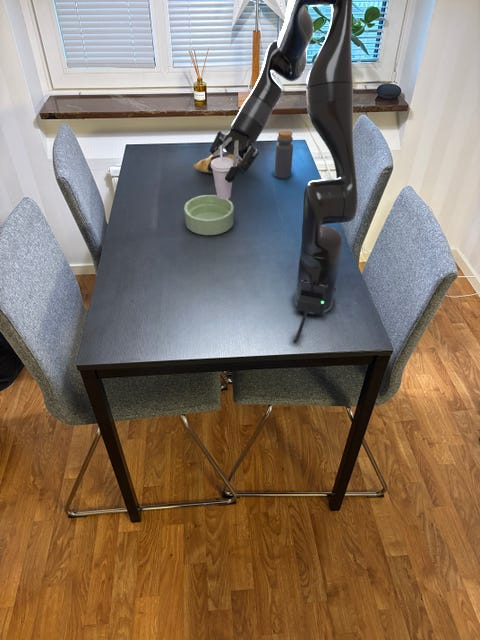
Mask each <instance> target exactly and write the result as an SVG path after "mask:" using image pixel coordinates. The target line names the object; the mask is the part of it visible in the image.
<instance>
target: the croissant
mask: <svg viewBox="0 0 480 640" xmlns="http://www.w3.org/2000/svg"><path fill="white" fill-rule="evenodd" d="M219 155H220V154H219ZM225 157H227V158H231V159H233V160H234V158H233V155H231V154H229V155H228V156H225ZM212 158H213V155H212V154H211V155H209V157H207V158H204V159H201V160H199V162H197V163H194V164H193V169H194V170H196V171H198V172H202V173H207V174H212V173H211V172H209V171H208V170H207V167H208V165H209V163H210V161H211V159H212ZM246 163H247V162H246Z"/></svg>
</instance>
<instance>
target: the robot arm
mask: <svg viewBox="0 0 480 640" xmlns="http://www.w3.org/2000/svg"><path fill="white" fill-rule="evenodd" d="M353 3H354V1H353V0H287V3H286V10H285V11H286V12H285V18H284V23H283V26H282V29H281V31H280V33H279V37H278V39H277V40H274V41H272V42H271V43H270V44H269V46H268V48H267V50H266V53H265V57H264V61H263V64H262V68H261V71H260V75H259V77H258V79H257V81H256V82H255V85H254V87H253V89H252V90H251V92H250V94H249V95H248V97H247V98H246V99H245V101H244V102H243V104H242V105H241V107H240V109H239V111H238V113H237V115H236V116H235V118H234V120H233V121H232V123H231V124H230V131H229V132H228V133H226V134H225V133H223V132H222V131H221V130H219V131H218V132H217V134H216V136H215V138H214V140H213V142H212V144H211V146H210V148H209V152H210V153H211V155H213V158H212V159H211V161H212V160H214V159H216V158H219V157H220V155H219V154H220V145H222V157H225V156H228V155H229V154H231V155H233V158H234V162H233V167H231V168H230V170H229V172H228V173H227V175H226V177H225V180H226V181H227V182H229V183H231V182H232V183H233V181H235V179H236V177H237V175H238V173H239V172H241V171H244V172H247V171H248V170H249V168H250V167H251V166H252V165H253V163H254V161H255V160H256V159H257V157H258V156H259V154H260V152H259V151H258V149H256V147H254V146H253V144H255V143H256V142H257V141H258V139H259V137H260V135H261V134H262V132H263V130H264V128H265V127H266V125H267V123H268V121H269V119H270V118H271V115H272V113H273V111H274V109H275V108H276V106H277V104H278V103H279V101H280V99H281V97H282V95H283V88H282V87H281V86H280V84H279V83H278V82H277V81H276V80H275V79H274V77H273V75H272V72H274V73H275V74H277V75H278V76H279V77H281V78H283V79H284V80H286V81H287V82H296V81H298V80H300V78H301V77H302V76H303V74H304V73H305V70H306V66H307V61H308V51H307V50H308V48H309V45H310V43H311V40H312V38H313V35H314V22H313V18H312V16H311V14H310V12H309V10H308V9H307V8H306V6H308V7H323V6H325V7H327V6H330V7H331V19H330V24H329V29H328V31H327V34H326V37H325V40H324V41H323V43H322V46H321V47H320V49H319V51H318V53H317V55H316V57H315V59H314V61H313V62H312V65H311V66H310V69H309V71H308V74H307V77H306V84H305V85H306V87H305V88H306V105H307V106H306V108H307V115H308V119H309V120H310V122H311V124H312V126H313V128H314V129H315V131H316V132H317V134H318V135H319V137H320V138H321V140H322V141H323V143H324V144H325V146H326V148H327V149H328V151H329V153H330V155H331V158H332V160H333V165H334V169H335V176H336V177H335V178H327V179H315V180H311V181H309V182H308V183H307V184H306V186H305V188H304V194H303V204H302V205H303V207H302V225H301V243H300V253H299V261H298V270H297V280H296V281H297V282H296V289H295V296H294V304H295V307H296V310H297V312H298V313H302V314H303V315H302V319H301V321H300V324H299V327H298V330H297V332H296V335H295V337H294V338H293V343H295V344H296V343H297V342H298V340H299V338H300V336H301V333H302V330H303V328H304V325H305V322H306V320H307V317H308V315H310V316H316V317H321V318H322V317H323V316H324V314H327V313H328V312H330V311H331V310H332V308H333V303H334V296H335V293H336V292H337V288H336V284H337V278H338V273H339V266H340V262H341V256H342V250H343V243H344V239H343V235H342V234H341V232H339V230H338V229H336V228H334V227H332V226H329V224H339V223H349V222H352V221H353V220H354V219H355V218H356V216H357V212H358V205H359V203H358V202H359V194H358V182H357V171H356V161H355V148H354V85H353V84H354V80H353V59H352V23H353V22H352V21H353ZM211 161H210V163H209V165H208V167H207V170H208V171H209V172H211V173H210V174H213V169H212V168H211ZM246 162H247V163H246ZM327 224H328V225H327Z"/></svg>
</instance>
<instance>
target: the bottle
mask: <svg viewBox="0 0 480 640" xmlns="http://www.w3.org/2000/svg"><path fill="white" fill-rule="evenodd" d="M277 134H278V135H277V138H276V139H277V140H276V141H277V142H276V144H275V152H274V169H273V171H274V172H273V175H274V176H275V177H276V178H278V179H288V178H291V175H292V167H293V155H294V154H293V153H294V145H293V143H292V142H293V139H294V138H293V131H292V130H291V129H280V130H278V132H277Z"/></svg>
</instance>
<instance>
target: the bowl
mask: <svg viewBox="0 0 480 640" xmlns="http://www.w3.org/2000/svg"><path fill="white" fill-rule="evenodd" d="M183 207H184V208H183V213H184V214H183V215H184V224H185V226H186V228H187V229H188V230H189V231H191V232H193V233H194V234H197V235H203V236H216V235H221V234H223V233H225V232H228V231H229V230H230V229H231V228H232V227H233V225H234V223H235V222H234V221H235V217H234V216H235V214H234V213H235V209H234V208H235V207H234V204H233V202H232V201H231V200H230V199H229V198H228V199H220V198H218V197H217V194H202V195H198V196H195V197H192V198H191V199H189V200H187V201H186V203H185V204H184V206H183Z"/></svg>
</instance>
